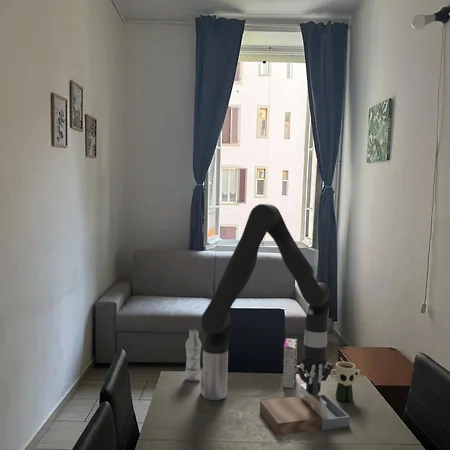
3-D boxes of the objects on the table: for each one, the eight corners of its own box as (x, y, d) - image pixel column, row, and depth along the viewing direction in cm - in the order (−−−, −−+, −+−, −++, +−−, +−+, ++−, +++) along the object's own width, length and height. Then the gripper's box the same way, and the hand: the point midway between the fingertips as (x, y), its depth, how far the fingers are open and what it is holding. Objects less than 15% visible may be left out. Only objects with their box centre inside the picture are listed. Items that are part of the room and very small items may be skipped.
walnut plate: (277, 435, 142) (278, 423, 142) (259, 411, 157) (260, 400, 157) (321, 429, 146) (321, 417, 146) (299, 407, 161) (300, 396, 161)
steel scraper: (320, 412, 146) (321, 385, 145) (300, 392, 160) (301, 367, 160) (326, 411, 147) (327, 384, 146) (305, 392, 161) (306, 367, 160)
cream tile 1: (311, 400, 155) (317, 399, 155) (304, 394, 159) (311, 393, 160) (310, 414, 155) (317, 413, 156) (303, 407, 160) (310, 407, 160)
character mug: (332, 403, 165) (333, 368, 164) (327, 394, 172) (328, 361, 171) (361, 403, 165) (363, 368, 164) (355, 395, 172) (357, 361, 171)
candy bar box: (284, 376, 188) (285, 337, 187) (296, 377, 187) (297, 338, 186) (281, 387, 177) (283, 346, 176) (294, 389, 176) (296, 347, 175)
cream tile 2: (320, 410, 148) (327, 409, 148) (313, 403, 153) (320, 402, 153) (320, 425, 148) (327, 424, 149) (313, 417, 153) (319, 416, 154)
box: (322, 430, 146) (322, 420, 145) (299, 406, 162) (299, 396, 162) (349, 427, 148) (350, 416, 148) (324, 403, 165) (324, 394, 164)
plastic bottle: (188, 384, 178) (189, 334, 176) (182, 378, 184) (183, 329, 182) (203, 381, 181) (204, 332, 179) (196, 375, 187) (197, 327, 185)
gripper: (328, 338, 158) (325, 386, 159) (291, 340, 154) (289, 390, 155) (339, 345, 150) (337, 396, 152) (301, 348, 146) (299, 400, 148)
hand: (313, 393), depth 153 cm, fingers closed on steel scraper, 2 cm apart
